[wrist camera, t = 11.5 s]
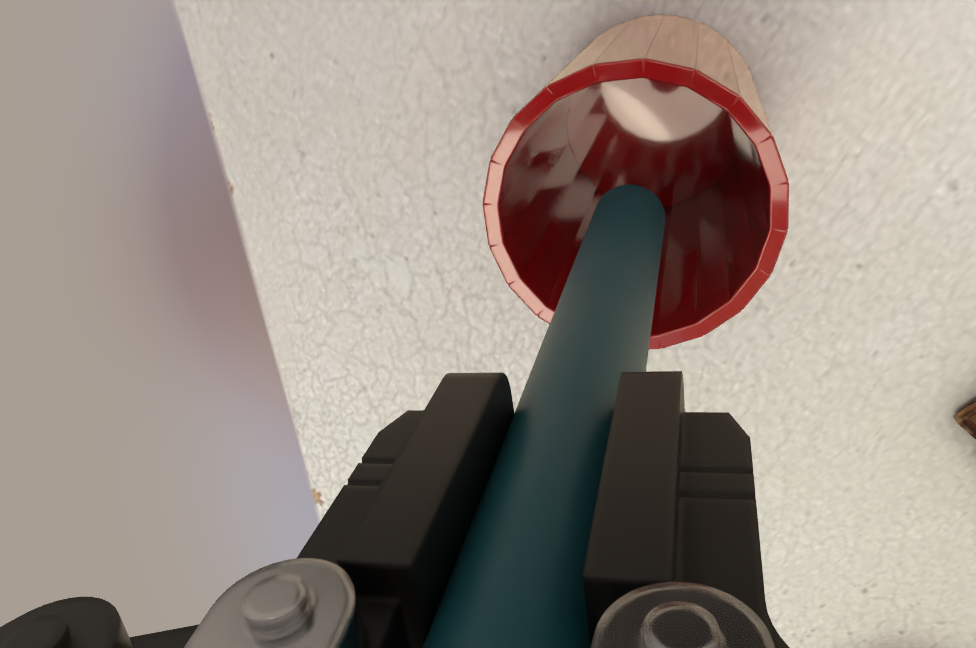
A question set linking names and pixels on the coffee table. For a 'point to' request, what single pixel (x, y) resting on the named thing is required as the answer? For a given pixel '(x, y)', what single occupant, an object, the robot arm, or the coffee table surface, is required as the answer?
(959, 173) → the coffee table surface
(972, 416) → the book
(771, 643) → the robot arm
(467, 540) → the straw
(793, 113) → the coffee table surface
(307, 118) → the coffee table surface
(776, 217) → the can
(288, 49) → the coffee table surface
